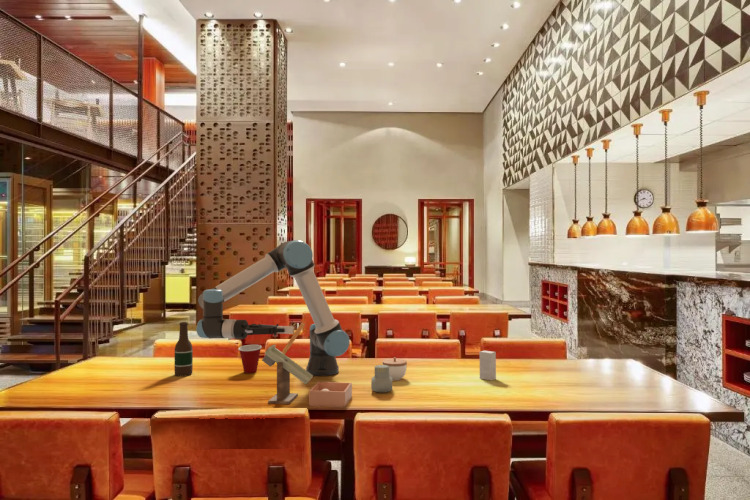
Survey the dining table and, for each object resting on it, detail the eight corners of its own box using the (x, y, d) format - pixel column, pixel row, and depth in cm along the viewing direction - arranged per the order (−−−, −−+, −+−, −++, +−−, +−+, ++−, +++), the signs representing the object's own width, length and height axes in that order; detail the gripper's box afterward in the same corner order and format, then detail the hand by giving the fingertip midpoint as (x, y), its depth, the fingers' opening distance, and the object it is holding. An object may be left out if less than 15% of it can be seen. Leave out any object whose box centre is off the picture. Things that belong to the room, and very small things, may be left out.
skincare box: (496, 379, 224) (496, 351, 224) (491, 380, 221) (491, 353, 221) (484, 376, 228) (484, 350, 228) (479, 378, 225) (479, 351, 225)
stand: (268, 403, 188) (268, 362, 188) (277, 395, 198) (277, 356, 199) (289, 404, 186) (289, 363, 187) (297, 396, 197) (297, 357, 198)
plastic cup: (233, 373, 235) (233, 347, 235) (247, 368, 245) (247, 343, 245) (252, 375, 231) (252, 349, 231) (266, 370, 241) (266, 345, 241)
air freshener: (372, 387, 210) (372, 363, 210) (392, 387, 210) (392, 363, 210) (371, 394, 199) (371, 369, 199) (392, 394, 199) (392, 369, 199)
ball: (315, 393, 190) (322, 385, 190) (322, 395, 193) (328, 387, 193) (320, 401, 188) (327, 393, 187) (327, 402, 191) (334, 394, 190)
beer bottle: (196, 373, 236) (196, 321, 236) (184, 377, 228) (184, 323, 229) (182, 372, 238) (182, 320, 239) (170, 375, 231) (170, 323, 231)
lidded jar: (405, 382, 218) (404, 360, 218) (380, 381, 221) (380, 359, 221) (408, 376, 229) (408, 355, 229) (385, 375, 231) (384, 354, 231)
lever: (259, 360, 190) (286, 320, 189) (268, 355, 200) (294, 316, 199) (300, 391, 188) (328, 351, 186) (308, 384, 198) (334, 346, 197)
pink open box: (308, 406, 184) (308, 390, 184) (317, 395, 198) (317, 381, 198) (345, 407, 182) (345, 392, 182) (351, 397, 196) (351, 382, 196)
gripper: (242, 335, 208) (298, 336, 204) (229, 341, 195) (288, 342, 191) (242, 317, 208) (298, 318, 204) (228, 321, 195) (288, 322, 191)
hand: (293, 330), depth 198 cm, fingers closed
